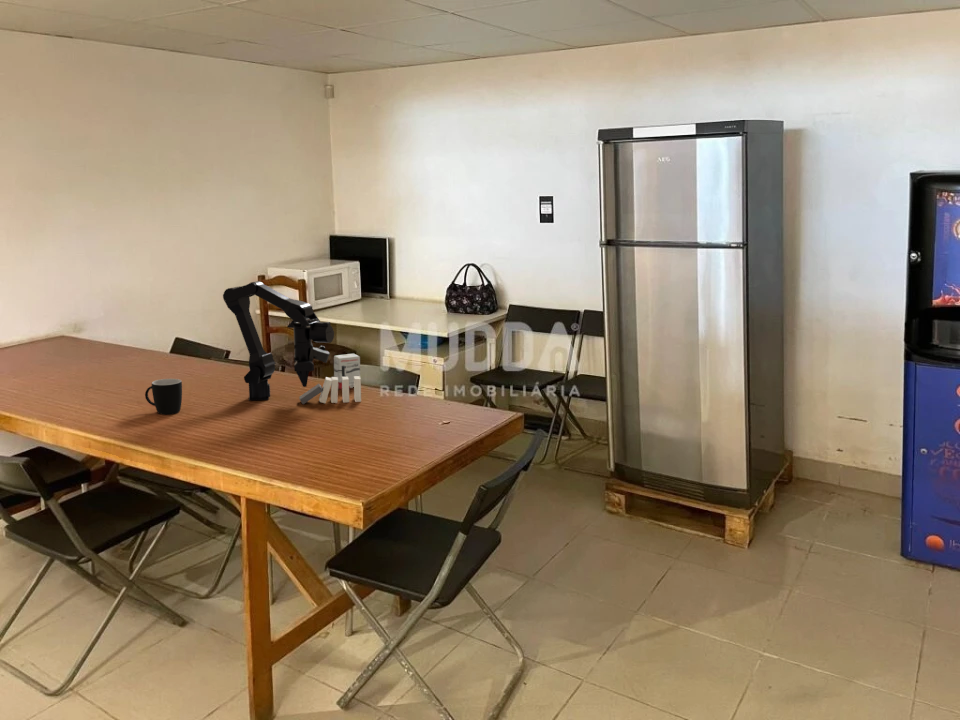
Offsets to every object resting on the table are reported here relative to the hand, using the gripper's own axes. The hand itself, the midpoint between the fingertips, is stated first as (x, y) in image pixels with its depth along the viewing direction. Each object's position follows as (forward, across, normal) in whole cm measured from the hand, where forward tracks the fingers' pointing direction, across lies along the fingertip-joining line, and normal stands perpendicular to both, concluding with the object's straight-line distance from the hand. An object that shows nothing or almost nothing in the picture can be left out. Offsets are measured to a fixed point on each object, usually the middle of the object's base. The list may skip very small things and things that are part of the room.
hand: (304, 386), depth 262 cm
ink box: (+6, +20, -15) cm, 26 cm away
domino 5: (+6, 0, -18) cm, 19 cm away
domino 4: (+6, 0, -14) cm, 15 cm away
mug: (+6, -3, +44) cm, 45 cm away
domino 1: (+5, 0, +1) cm, 5 cm away
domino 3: (+6, 0, -10) cm, 11 cm away
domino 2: (+5, 0, -6) cm, 8 cm away
